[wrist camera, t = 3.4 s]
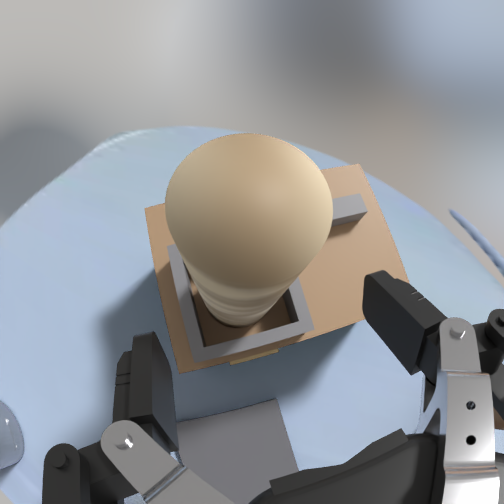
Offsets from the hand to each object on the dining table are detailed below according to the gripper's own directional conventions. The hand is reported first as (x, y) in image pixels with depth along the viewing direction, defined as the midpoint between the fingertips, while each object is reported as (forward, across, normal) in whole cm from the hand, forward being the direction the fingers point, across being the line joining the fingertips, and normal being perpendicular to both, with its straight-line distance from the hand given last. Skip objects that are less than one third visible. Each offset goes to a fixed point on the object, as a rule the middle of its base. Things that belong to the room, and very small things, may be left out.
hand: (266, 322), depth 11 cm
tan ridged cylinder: (+9, 0, +5) cm, 11 cm away
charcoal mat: (+6, +4, +23) cm, 24 cm away
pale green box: (+18, -4, +11) cm, 21 cm away
